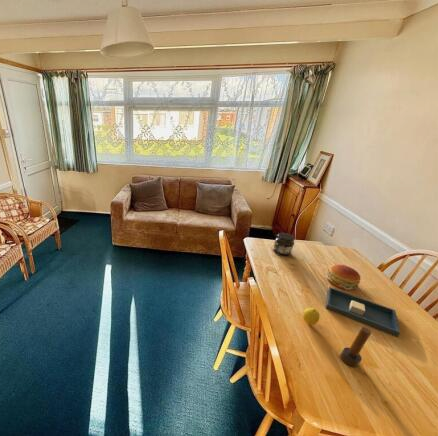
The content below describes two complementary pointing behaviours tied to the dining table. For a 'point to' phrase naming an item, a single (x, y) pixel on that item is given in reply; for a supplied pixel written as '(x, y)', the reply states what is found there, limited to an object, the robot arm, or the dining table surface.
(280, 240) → the supplement container
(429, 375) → the dining table surface
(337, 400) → the dining table surface
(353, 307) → the cream block
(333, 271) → the burger
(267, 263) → the dining table surface
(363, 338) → the brush
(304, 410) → the dining table surface
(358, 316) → the tray
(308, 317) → the lemon
